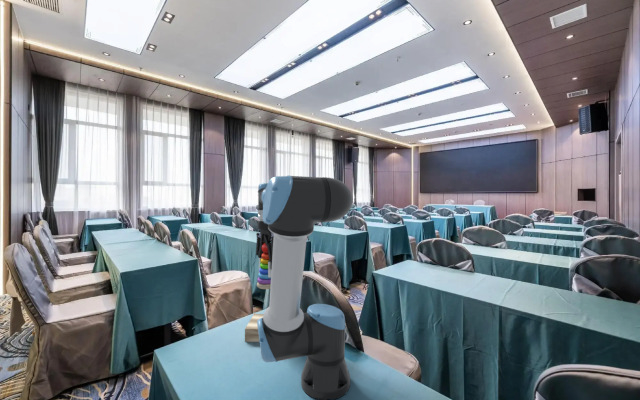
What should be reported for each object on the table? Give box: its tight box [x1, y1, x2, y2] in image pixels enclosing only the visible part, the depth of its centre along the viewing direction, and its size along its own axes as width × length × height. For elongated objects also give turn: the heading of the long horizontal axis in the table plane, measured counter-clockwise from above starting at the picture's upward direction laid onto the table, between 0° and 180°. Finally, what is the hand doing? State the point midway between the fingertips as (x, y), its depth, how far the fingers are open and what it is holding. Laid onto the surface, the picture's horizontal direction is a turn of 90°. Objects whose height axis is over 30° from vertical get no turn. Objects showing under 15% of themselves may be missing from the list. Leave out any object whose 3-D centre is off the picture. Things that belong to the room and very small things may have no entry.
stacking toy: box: [256, 243, 271, 290], centre depth 116 cm, size 8×8×19 cm
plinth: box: [244, 313, 264, 343], centre depth 116 cm, size 14×14×5 cm
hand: (266, 274), depth 116 cm, fingers closed on stacking toy, 7 cm apart
